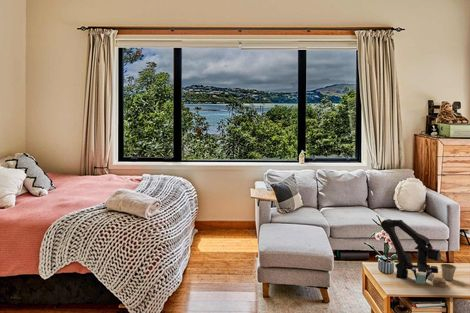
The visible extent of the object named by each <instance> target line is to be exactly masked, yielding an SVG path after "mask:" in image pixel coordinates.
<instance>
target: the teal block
mask: <svg viewBox="0 0 470 313" xmlns="http://www.w3.org/2000/svg"><path fill="white" fill-rule="evenodd" d="M416 275H417V280H416V279H415V281H416V284H420V285H426V282H425V279H426V276H425V273H423V272H416Z"/></svg>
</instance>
